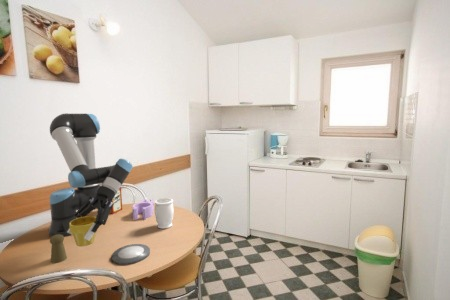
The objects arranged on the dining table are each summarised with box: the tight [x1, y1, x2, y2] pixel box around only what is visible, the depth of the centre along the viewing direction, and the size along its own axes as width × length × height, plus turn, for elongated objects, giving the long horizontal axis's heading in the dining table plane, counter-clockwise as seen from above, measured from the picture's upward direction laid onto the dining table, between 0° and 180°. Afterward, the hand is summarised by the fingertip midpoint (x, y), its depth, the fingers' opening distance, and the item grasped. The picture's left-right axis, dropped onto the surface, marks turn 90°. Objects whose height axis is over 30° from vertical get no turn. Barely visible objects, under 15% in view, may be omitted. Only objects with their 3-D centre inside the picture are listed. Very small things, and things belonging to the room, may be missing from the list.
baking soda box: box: [109, 186, 123, 215], centre depth 174 cm, size 10×6×16 cm
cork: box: [49, 234, 68, 264], centre depth 114 cm, size 6×6×11 cm
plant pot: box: [69, 215, 97, 248], centre depth 108 cm, size 10×10×10 cm
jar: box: [153, 197, 175, 230], centre depth 148 cm, size 11×10×15 cm
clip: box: [131, 198, 155, 220], centre depth 169 cm, size 20×12×7 cm, turn 0°
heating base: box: [111, 243, 151, 266], centre depth 117 cm, size 16×16×1 cm
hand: (77, 236), depth 106 cm, fingers closed on plant pot, 10 cm apart
